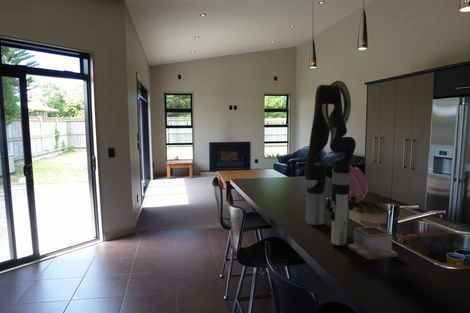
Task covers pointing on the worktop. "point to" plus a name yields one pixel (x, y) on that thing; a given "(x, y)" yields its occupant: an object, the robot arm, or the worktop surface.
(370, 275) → the worktop surface
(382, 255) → the base board
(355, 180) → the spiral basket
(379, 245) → the sleeve
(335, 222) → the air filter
